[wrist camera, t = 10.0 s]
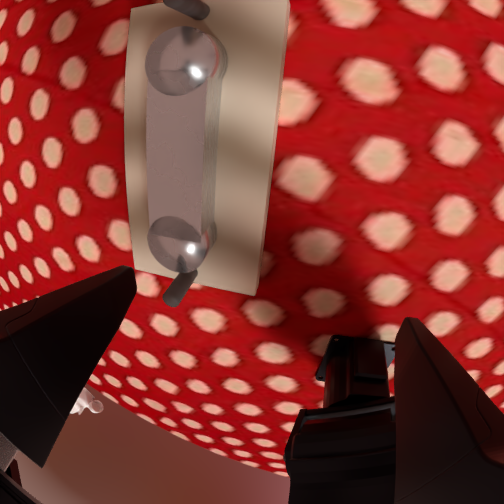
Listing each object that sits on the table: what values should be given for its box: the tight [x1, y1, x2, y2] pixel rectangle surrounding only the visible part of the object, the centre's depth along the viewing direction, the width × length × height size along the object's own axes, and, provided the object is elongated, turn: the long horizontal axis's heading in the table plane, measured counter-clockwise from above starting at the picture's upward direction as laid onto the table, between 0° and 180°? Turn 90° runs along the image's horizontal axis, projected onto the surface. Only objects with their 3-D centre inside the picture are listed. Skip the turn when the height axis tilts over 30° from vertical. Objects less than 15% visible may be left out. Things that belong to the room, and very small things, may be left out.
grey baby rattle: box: [145, 26, 228, 273], centre depth 17 cm, size 15×4×2 cm, turn 175°
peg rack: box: [124, 0, 290, 307], centre depth 17 cm, size 20×10×5 cm, turn 175°
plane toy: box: [70, 387, 103, 415], centre depth 44 cm, size 10×20×6 cm, turn 132°
